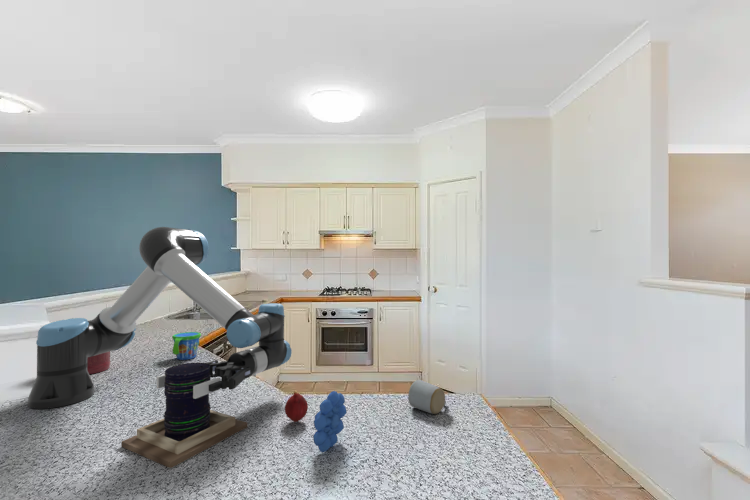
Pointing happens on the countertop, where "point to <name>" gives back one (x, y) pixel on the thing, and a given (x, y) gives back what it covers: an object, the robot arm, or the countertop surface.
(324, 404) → the grapes
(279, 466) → the countertop surface
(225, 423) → the base board
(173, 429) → the dark blue barrel
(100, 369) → the canister
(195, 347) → the snack cup
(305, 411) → the onion
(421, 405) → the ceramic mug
